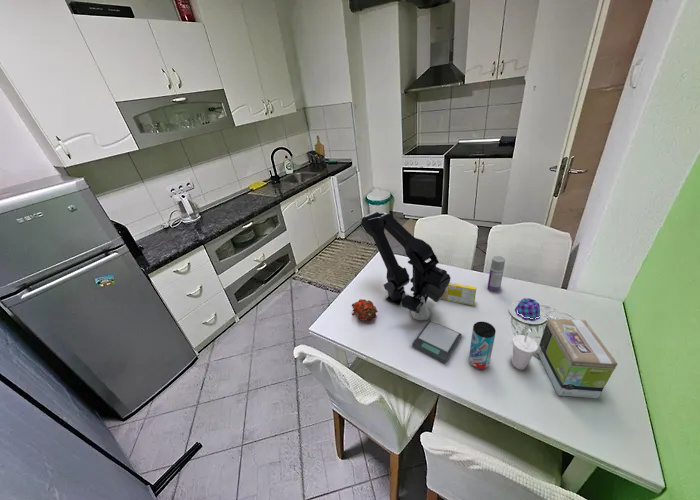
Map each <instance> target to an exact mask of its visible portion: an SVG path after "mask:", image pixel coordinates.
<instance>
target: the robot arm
mask: <svg viewBox="0 0 700 500" xmlns="http://www.w3.org/2000/svg"><path fill="white" fill-rule="evenodd" d="M361 227H362V228H363V229H364V231H365V233H366V234H367V235H369V236H370V237H372V240H373V241H374V243H375V246H376V248H377V249H378V253H379V254H380V257H381V259H382V261H383V263H384V266H385V268H386V281H387V282H386V283H384V284H383V288H384V290H385V291H387V297H386V299H385V300H386V301H388V302H390V303H393V304H395V305H397V306H400V305H401V307H402V308H404V309H407V310H409V311H411V312H412V311H414V312H416V313H419V310H420V307H421V306H422V305H423V304H424V303H423V302H421V300H422V299H421V298H422V296H423V297H424V299H425V303H426V304H427V302H428V299H430V300H431V301H433V302H434V303H439V301H440V300H442V299H441V297H442V296H443V294H444V292H445V291H446V290H445V288H446V287H447V286H448V285H449V282H450V283H451V280H452V279H451V275H450V274H449V273H448V271H447V270H446V269H442V268H440V267H438V266H437V265H439V264H440V262H439V260H438V257H437V255H436V254H435V252H434V250H433V248H432V246H431V245H430V244H429V243H427V242H426V241H424V240H423V239H421V238H417V237H415V236H414V235H412V234H411V233H410V232H409V231H408V230H407V229H406V228H405V227H404V226H403V225H402V224H401V223H400V222H399V221H398V220H397V219H395V218H394V215H393V214H392V213H390V212H387V213H386V212H379V211H373V212H371V213H368V214H367V215H365V216H363V217H362V219H361ZM385 230H386V231H387V232H388V234H390V236H392V237H393V238H394V239H395V240H396V242H398V243H399V245H401V246H402V248H404V251H405V255H406V257H407V258H408V261H407V264H409V265H411V266H412V277H411V278H410V274H409V273H408V270H407V268H406V267H402V266H401V265H399V262H398V261H397V260H398V259H397V258H396V256H395V254H394V251H393V249H392V247H391V244H390V242H389V240H388V238H387V235H386V233H385ZM429 259H430V260H429ZM428 260H429V261H428ZM409 283H412V286H411V287H410V292H413V293H412V295H413V296H412V295H409V294H407V295H406V290H405V286H407V285H408V284H409Z"/></svg>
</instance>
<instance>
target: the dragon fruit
mask: <svg viewBox="0 0 700 500" xmlns="http://www.w3.org/2000/svg"><path fill="white" fill-rule="evenodd" d="M351 307H352V309H353V310H352V312H351V316H352V317H354V316H358V320H360V321H361V322H363V321H367V322H370V321H371V320H375V319H376V318H377V313H378V312H379V311H378V309H377V307H376V306H375V305H374V303H373V301H371V300H369V299H368V300H367V299H361V298H360V299H358V301H355V302H353V303H352V304H351Z"/></svg>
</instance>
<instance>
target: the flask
mask: <svg viewBox="0 0 700 500" xmlns="http://www.w3.org/2000/svg"><path fill="white" fill-rule="evenodd" d="M421 299H422V300H421V302H423V303H424V304H423V305H422V306H421V307H420V310H419V313H416V312H414V311H412V310H411V313H410V314H411V316H412V318H413V320H418V321H426V320H429V318H430V316H431V312H430V310H429V308H428V306H427V302H426V303H425V299H424V297H423V296H422V298H421Z"/></svg>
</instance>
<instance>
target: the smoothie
mask: <svg viewBox="0 0 700 500" xmlns="http://www.w3.org/2000/svg"><path fill="white" fill-rule="evenodd" d="M529 333H530V331H529V330H526V331H525V334H517V335H514V337H513V338H512V340H511V343H512V361H511V363H512V366H513V367H515V369H518V370H525V369H526V368H527V366H528V365H529V363H530V361H531V359H532V358H533V356H534V354H536V353H538V352H537V350H538V347H539V344H538V343H537V341H536V340H535V339H534V338H532V337H531V336H529Z"/></svg>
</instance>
